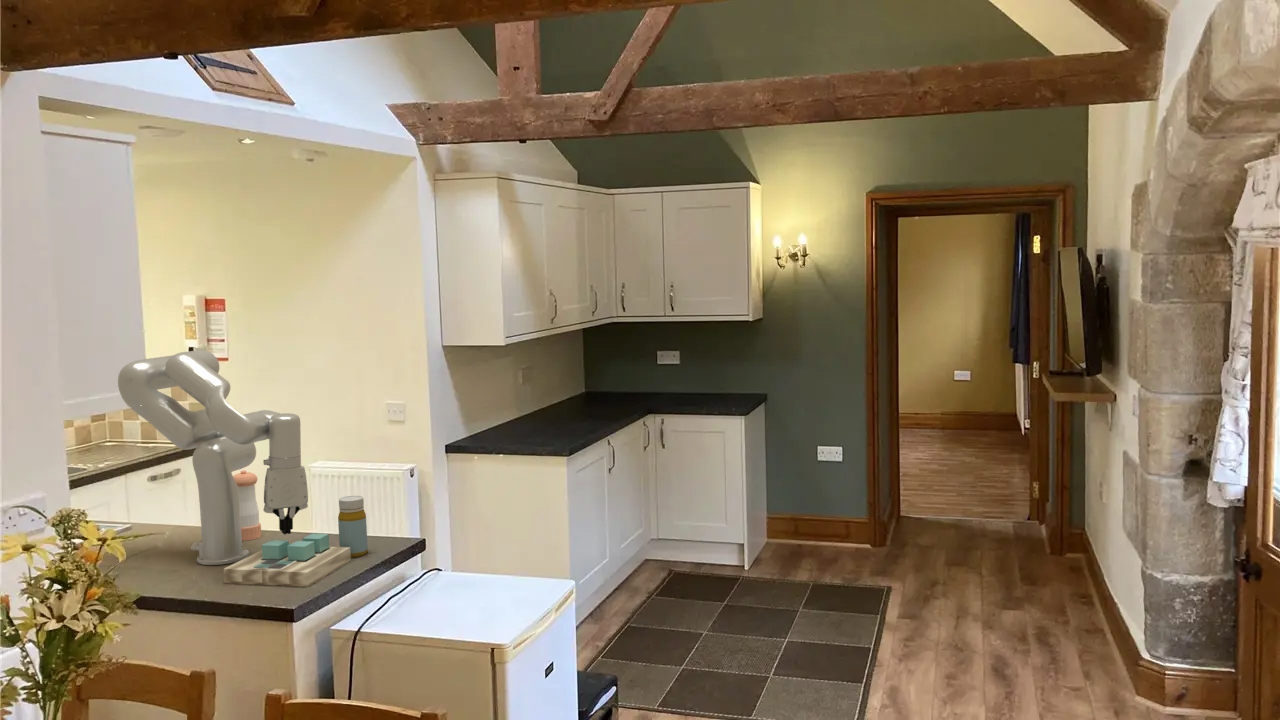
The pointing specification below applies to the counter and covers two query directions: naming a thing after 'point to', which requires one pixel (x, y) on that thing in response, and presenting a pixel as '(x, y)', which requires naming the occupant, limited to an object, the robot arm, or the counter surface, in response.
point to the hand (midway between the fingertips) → (286, 532)
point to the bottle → (353, 525)
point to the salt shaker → (248, 505)
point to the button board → (287, 568)
